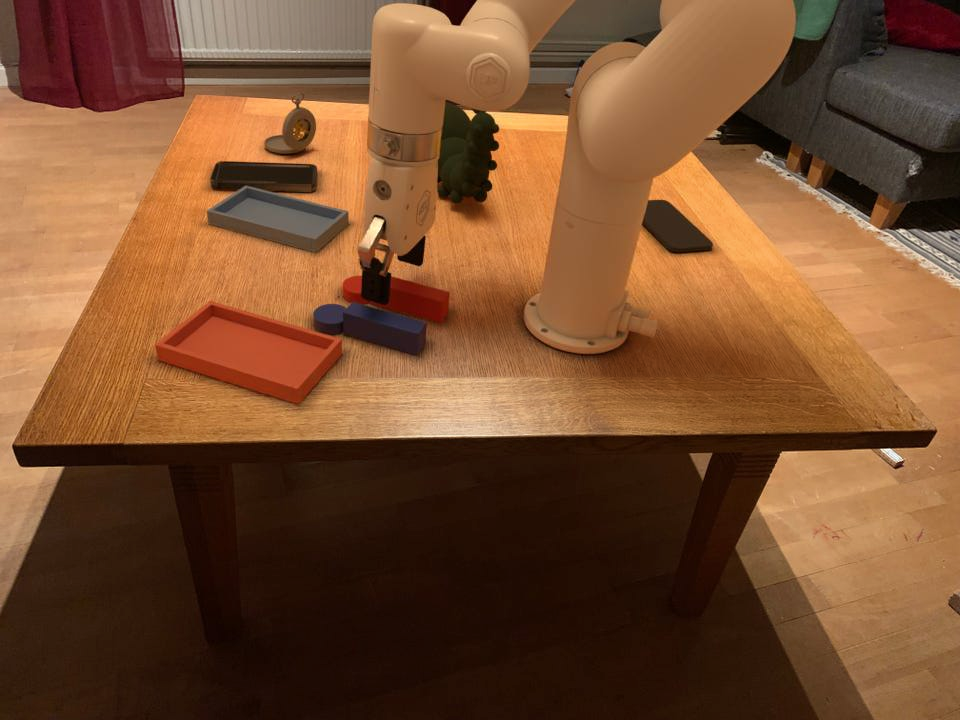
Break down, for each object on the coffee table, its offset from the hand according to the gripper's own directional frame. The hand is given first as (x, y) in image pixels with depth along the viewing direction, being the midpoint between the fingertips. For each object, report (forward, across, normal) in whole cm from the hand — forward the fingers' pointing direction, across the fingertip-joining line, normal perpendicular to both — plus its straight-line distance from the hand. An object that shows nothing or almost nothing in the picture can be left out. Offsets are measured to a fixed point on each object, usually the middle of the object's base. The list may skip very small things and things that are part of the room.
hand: (393, 280), depth 86 cm
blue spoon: (+3, -7, 0) cm, 7 cm away
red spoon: (+3, 0, 0) cm, 3 cm away
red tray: (+4, -16, +9) cm, 18 cm away
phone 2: (+2, +38, -28) cm, 48 cm away
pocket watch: (+5, +34, +34) cm, 48 cm away
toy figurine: (+3, +35, +6) cm, 36 cm away
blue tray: (+4, +11, +22) cm, 25 cm away
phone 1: (+4, +22, +31) cm, 38 cm away
